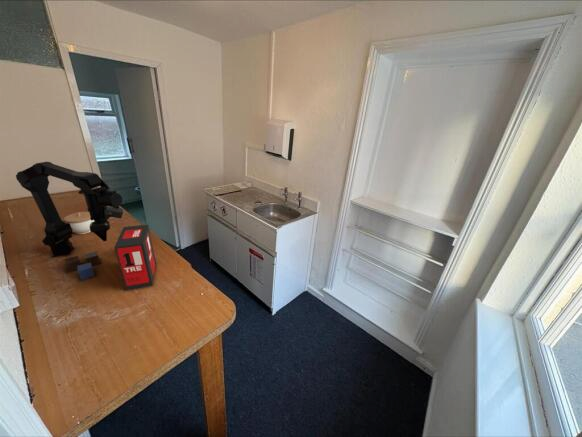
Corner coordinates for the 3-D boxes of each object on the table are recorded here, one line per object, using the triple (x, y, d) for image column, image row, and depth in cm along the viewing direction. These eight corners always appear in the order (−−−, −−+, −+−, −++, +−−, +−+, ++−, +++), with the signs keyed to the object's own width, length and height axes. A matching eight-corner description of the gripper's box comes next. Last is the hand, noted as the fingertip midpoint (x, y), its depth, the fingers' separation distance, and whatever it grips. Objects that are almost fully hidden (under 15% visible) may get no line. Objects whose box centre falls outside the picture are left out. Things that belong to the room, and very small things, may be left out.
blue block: (81, 280, 95) (77, 271, 93) (80, 274, 97) (77, 266, 96) (94, 275, 97) (91, 267, 96) (93, 270, 100) (90, 262, 98)
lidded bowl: (69, 238, 121) (62, 219, 116) (68, 229, 129) (62, 211, 125) (99, 232, 129) (94, 214, 124) (97, 224, 137) (92, 206, 132)
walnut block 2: (88, 266, 102) (85, 258, 100) (87, 262, 105) (84, 253, 103) (100, 263, 105) (97, 255, 103) (99, 258, 108) (96, 250, 106)
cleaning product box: (152, 285, 95) (143, 243, 86) (126, 290, 91) (114, 247, 83) (156, 262, 108) (148, 224, 100) (133, 266, 105) (123, 227, 97)
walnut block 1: (68, 272, 98) (64, 263, 96) (67, 267, 101) (64, 258, 99) (81, 268, 101) (78, 260, 99) (81, 263, 104) (78, 255, 102)
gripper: (120, 208, 95) (128, 241, 101) (118, 194, 108) (125, 224, 115) (84, 213, 89) (95, 248, 95) (87, 197, 102) (97, 229, 109)
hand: (105, 236), depth 104 cm, fingers open, 9 cm apart
